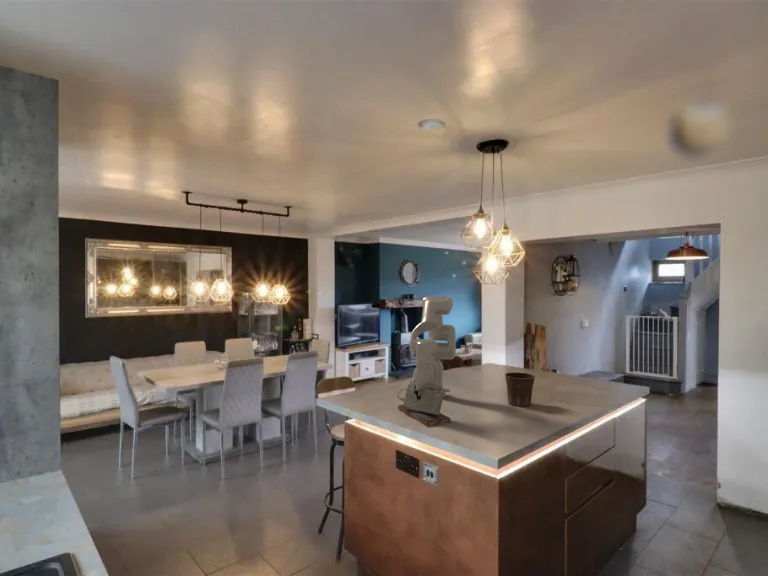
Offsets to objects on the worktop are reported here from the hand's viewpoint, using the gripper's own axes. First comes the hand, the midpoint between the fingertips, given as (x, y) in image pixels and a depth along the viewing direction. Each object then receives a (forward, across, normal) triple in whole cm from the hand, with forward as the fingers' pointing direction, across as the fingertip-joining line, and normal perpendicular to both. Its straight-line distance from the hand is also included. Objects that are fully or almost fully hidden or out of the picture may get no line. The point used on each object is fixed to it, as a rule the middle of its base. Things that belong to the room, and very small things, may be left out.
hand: (423, 402), depth 218 cm
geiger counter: (+3, +4, 0) cm, 5 cm away
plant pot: (+7, -61, 0) cm, 61 cm away
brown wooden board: (+7, 0, 0) cm, 7 cm away
